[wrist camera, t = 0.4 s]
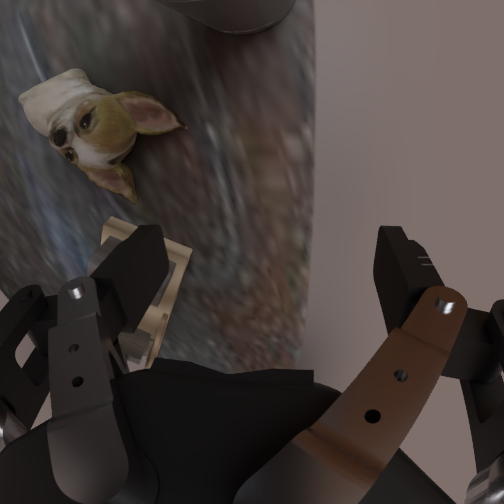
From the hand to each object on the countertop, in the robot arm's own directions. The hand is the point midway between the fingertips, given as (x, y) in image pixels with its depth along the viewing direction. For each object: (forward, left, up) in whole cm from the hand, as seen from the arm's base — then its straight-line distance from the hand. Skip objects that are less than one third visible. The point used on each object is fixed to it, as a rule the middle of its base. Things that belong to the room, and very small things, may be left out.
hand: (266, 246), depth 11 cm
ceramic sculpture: (-5, -16, -19) cm, 25 cm away
